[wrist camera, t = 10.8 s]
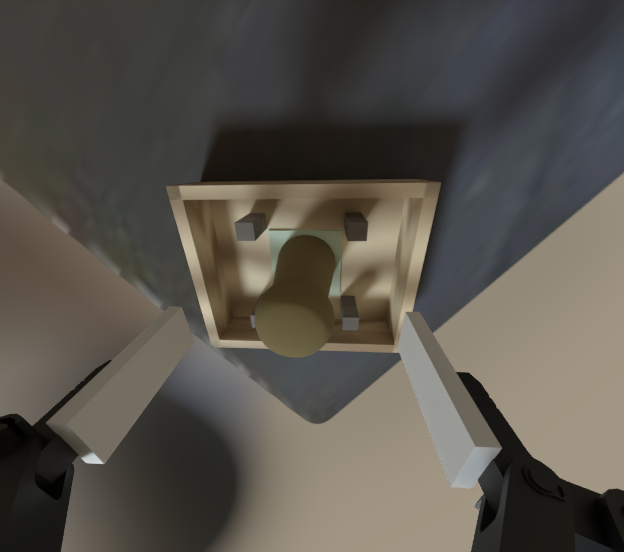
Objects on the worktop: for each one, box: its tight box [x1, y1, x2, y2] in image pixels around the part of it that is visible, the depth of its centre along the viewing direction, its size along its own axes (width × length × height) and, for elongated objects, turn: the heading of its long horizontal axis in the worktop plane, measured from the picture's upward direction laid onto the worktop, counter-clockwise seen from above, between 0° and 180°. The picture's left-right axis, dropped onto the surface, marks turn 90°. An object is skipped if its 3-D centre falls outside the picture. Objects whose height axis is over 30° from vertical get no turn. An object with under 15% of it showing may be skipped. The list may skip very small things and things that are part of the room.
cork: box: [254, 235, 336, 358], centre depth 18 cm, size 6×6×11 cm
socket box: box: [166, 179, 441, 353], centre depth 22 cm, size 16×20×5 cm
